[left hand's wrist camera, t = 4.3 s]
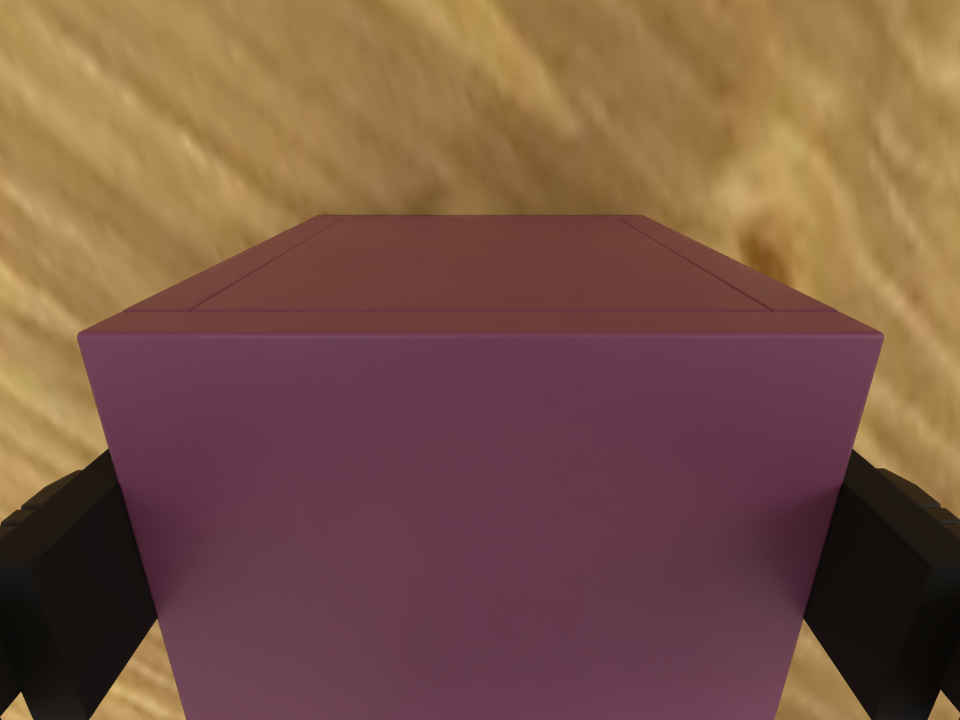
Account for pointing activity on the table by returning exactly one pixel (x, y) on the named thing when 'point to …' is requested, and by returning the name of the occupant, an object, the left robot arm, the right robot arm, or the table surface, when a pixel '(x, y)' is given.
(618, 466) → the purple rectangular block
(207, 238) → the table surface
